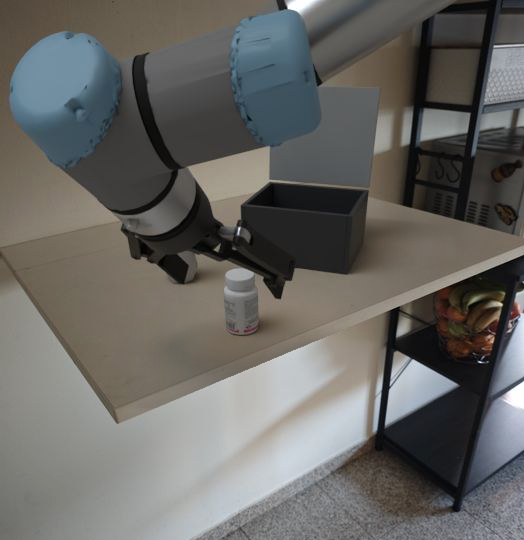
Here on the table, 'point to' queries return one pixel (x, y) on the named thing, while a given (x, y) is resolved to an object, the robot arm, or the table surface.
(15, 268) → the table surface
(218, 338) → the table surface
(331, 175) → the grey box lid
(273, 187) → the box
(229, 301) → the pill bottle
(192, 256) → the salt shaker
